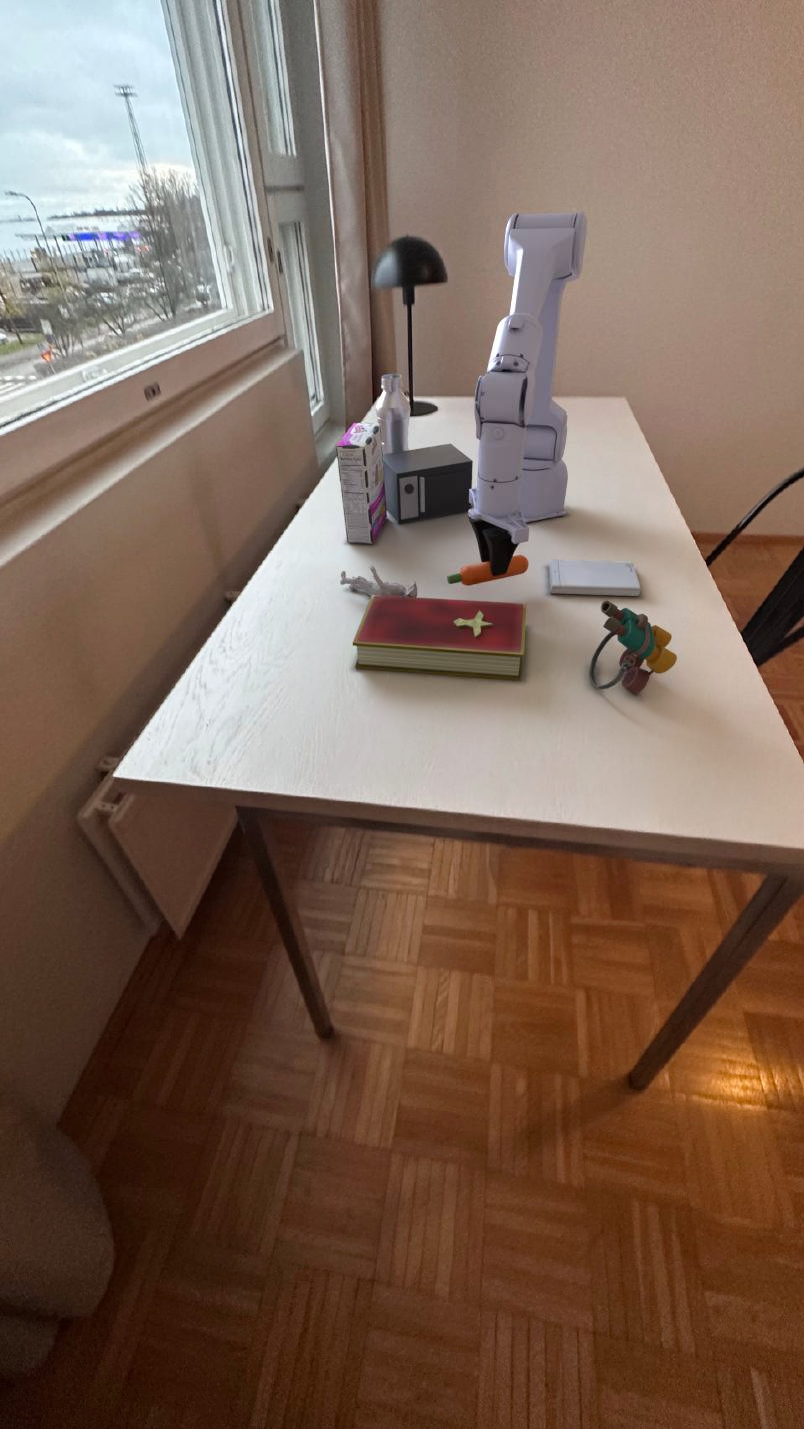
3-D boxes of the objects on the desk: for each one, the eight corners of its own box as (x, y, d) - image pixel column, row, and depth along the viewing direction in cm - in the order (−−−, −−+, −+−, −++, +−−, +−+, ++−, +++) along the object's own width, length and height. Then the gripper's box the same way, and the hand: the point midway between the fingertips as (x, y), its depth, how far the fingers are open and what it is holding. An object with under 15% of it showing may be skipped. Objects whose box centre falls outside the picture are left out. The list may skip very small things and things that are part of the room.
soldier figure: (364, 583, 99) (431, 575, 93) (361, 613, 98) (428, 607, 92) (334, 566, 93) (403, 556, 86) (330, 598, 92) (400, 590, 85)
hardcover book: (374, 617, 90) (372, 591, 87) (524, 626, 86) (526, 600, 84) (355, 668, 81) (352, 641, 78) (521, 680, 78) (524, 652, 75)
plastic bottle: (374, 492, 124) (367, 380, 111) (388, 479, 128) (382, 371, 115) (405, 496, 122) (401, 382, 109) (417, 483, 126) (415, 372, 113)
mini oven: (473, 512, 115) (474, 462, 109) (400, 526, 112) (398, 475, 106) (450, 491, 123) (450, 443, 117) (381, 503, 120) (378, 455, 114)
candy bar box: (361, 516, 116) (353, 421, 105) (387, 517, 115) (382, 422, 104) (344, 543, 108) (334, 444, 97) (373, 545, 107) (365, 445, 96)
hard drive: (633, 560, 96) (550, 558, 97) (641, 588, 90) (552, 584, 91) (631, 570, 97) (548, 567, 99) (638, 598, 91) (550, 594, 92)
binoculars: (620, 717, 75) (687, 664, 69) (560, 679, 73) (622, 621, 66) (615, 670, 82) (674, 617, 75) (559, 634, 80) (615, 577, 73)
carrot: (522, 567, 94) (523, 550, 92) (531, 575, 92) (532, 558, 90) (444, 584, 91) (444, 566, 90) (452, 593, 89) (452, 575, 88)
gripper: (449, 461, 86) (449, 552, 95) (496, 500, 76) (490, 598, 85) (496, 453, 88) (491, 543, 97) (548, 490, 77) (537, 588, 86)
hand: (493, 568), depth 91 cm, fingers closed on carrot, 3 cm apart
